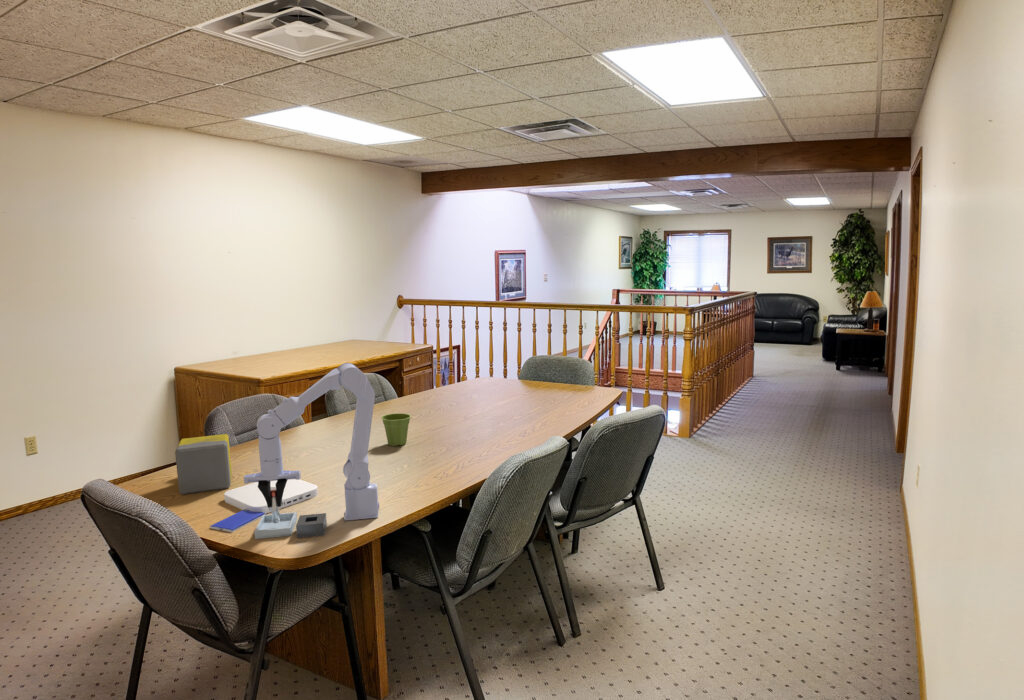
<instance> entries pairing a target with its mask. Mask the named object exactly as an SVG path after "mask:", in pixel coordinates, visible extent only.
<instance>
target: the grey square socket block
mask: <svg viewBox="0 0 1024 700" xmlns="http://www.w3.org/2000/svg"><path fill="white" fill-rule="evenodd" d="M327 525H328V523H327V513H326V512H325V513H313V514H303V515H302V514H301V515H299V516H298V518H297V521H296V524H295V527H296V528H295V530H296V539H300V538H314V537H323V536H325V533H326V530H327Z"/></svg>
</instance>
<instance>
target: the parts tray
mask: <svg viewBox="0 0 1024 700" xmlns="http://www.w3.org/2000/svg"><path fill="white" fill-rule="evenodd" d="M279 515H280V522H279V523H272V513H271V514H269V513H268V514H265V515H263V516H262V517H261V518H260V519H259V522H258V523H257V525H256V527H255V529H254V533H253V535H254V540H259V539H269V538H270V539H271V538H281V537H291V536H292V533H293V530H294V528H295V527H296V525H297V522H298V514H297V512H296V511H295V512H292V511H291V512H283V513H279Z"/></svg>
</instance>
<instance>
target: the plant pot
mask: <svg viewBox="0 0 1024 700" xmlns="http://www.w3.org/2000/svg"><path fill="white" fill-rule="evenodd" d="M411 418H412V415H411V414H409V413H403V412H402V413H400V412H397V413H396V412H395V413H389V414H388V413H387V414H384V415H382V416H381V417H380V419H381V420H382V423H383V425H384V426H383V427H384V431H385V435H386V440H387V444H388V445H389V446H392V447H396V446H397V447H398V446H404V445H406V444H407V441H408V440H407V439H408V432H409V423H410V422H411V421H410V420H411Z"/></svg>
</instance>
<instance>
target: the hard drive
mask: <svg viewBox="0 0 1024 700" xmlns="http://www.w3.org/2000/svg"><path fill="white" fill-rule="evenodd" d="M263 515H266V514H265V513H264V512H253V511H250V510H246V509H244V510H240V511H238V512H236V513H234V514H232V515H229V516H228V517H226V518H224V519H222V520H220V521H217V522H216V523H213V524H211V525H210V526H209V528H210V529H212V530H217V531H224V532H229V533H234V532H236V531H238V530H239V529H241V528H244V527H246V526H247V525H250V524H252V523H253V522H255V521H257V520H260V519H261V518H262V516H263Z"/></svg>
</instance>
